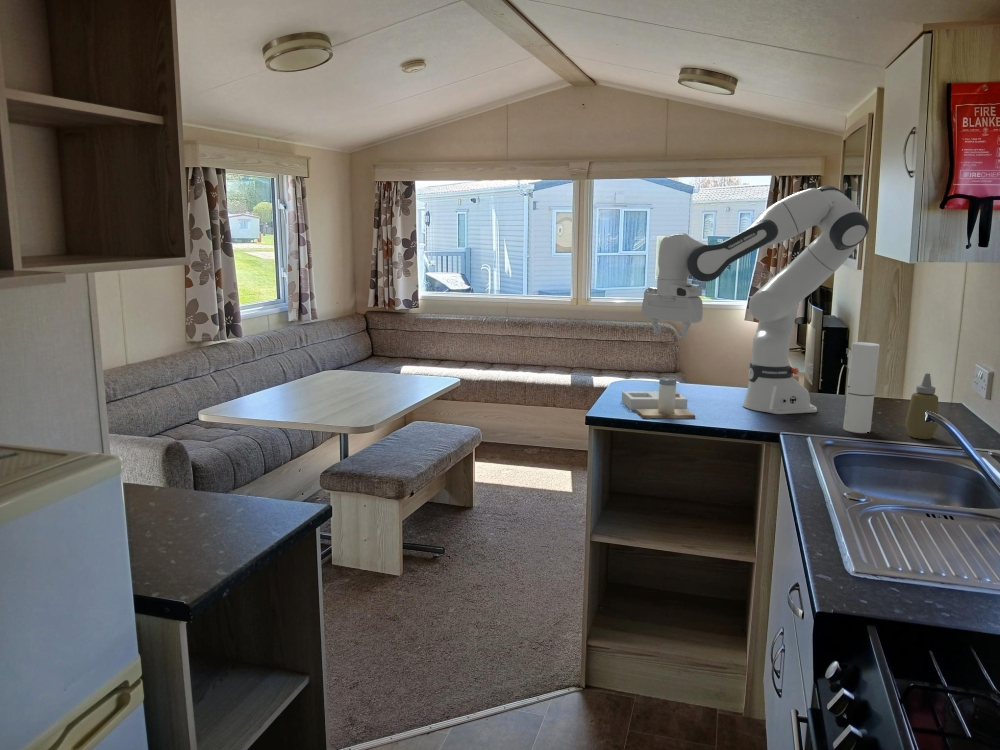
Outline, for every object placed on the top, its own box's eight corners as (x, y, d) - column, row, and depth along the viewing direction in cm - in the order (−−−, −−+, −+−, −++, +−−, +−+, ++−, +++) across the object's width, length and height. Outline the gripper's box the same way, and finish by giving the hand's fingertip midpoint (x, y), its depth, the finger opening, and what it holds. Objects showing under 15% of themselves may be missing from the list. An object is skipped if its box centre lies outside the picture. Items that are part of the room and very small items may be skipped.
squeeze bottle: (922, 442, 210) (930, 377, 207) (897, 434, 218) (904, 372, 214) (943, 439, 213) (951, 375, 210) (917, 432, 221) (924, 370, 217)
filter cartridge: (676, 411, 237) (678, 379, 235) (671, 414, 232) (673, 382, 231) (661, 409, 239) (662, 377, 237) (655, 412, 235) (656, 380, 233)
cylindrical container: (865, 427, 225) (874, 342, 221) (874, 433, 218) (883, 346, 214) (839, 426, 226) (848, 341, 221) (848, 432, 219) (857, 345, 214)
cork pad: (686, 412, 240) (686, 409, 240) (695, 418, 232) (695, 415, 232) (636, 412, 239) (636, 409, 239) (642, 418, 231) (643, 415, 231)
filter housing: (675, 401, 255) (675, 391, 254) (686, 410, 243) (687, 399, 243) (621, 401, 254) (622, 391, 253) (630, 410, 242) (631, 399, 241)
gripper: (637, 287, 235) (636, 332, 237) (693, 291, 219) (691, 339, 222) (651, 286, 239) (649, 331, 241) (707, 290, 223) (704, 338, 226)
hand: (669, 335), depth 231 cm, fingers open, 8 cm apart
